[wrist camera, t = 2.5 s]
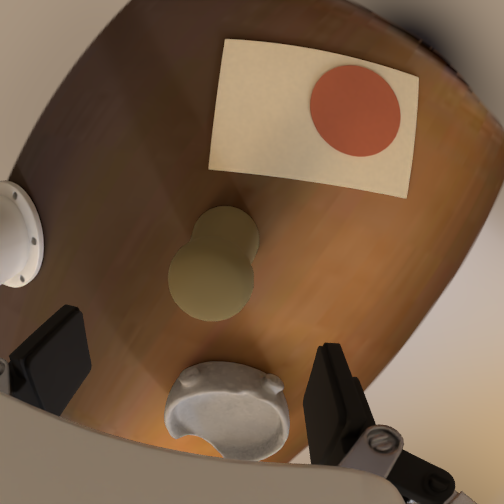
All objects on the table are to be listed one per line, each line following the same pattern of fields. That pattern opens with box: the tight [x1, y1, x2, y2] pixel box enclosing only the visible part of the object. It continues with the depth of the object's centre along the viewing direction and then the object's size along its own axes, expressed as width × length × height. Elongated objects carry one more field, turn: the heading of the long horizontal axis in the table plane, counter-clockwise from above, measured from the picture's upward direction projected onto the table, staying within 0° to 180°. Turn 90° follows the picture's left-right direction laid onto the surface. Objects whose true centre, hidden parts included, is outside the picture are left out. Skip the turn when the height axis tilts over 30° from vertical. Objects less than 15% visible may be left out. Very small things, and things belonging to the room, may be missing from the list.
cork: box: [168, 206, 259, 321], centre depth 22 cm, size 6×6×11 cm
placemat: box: [209, 39, 419, 198], centre depth 24 cm, size 18×12×1 cm, turn 84°
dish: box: [164, 361, 290, 461], centre depth 31 cm, size 14×14×5 cm
